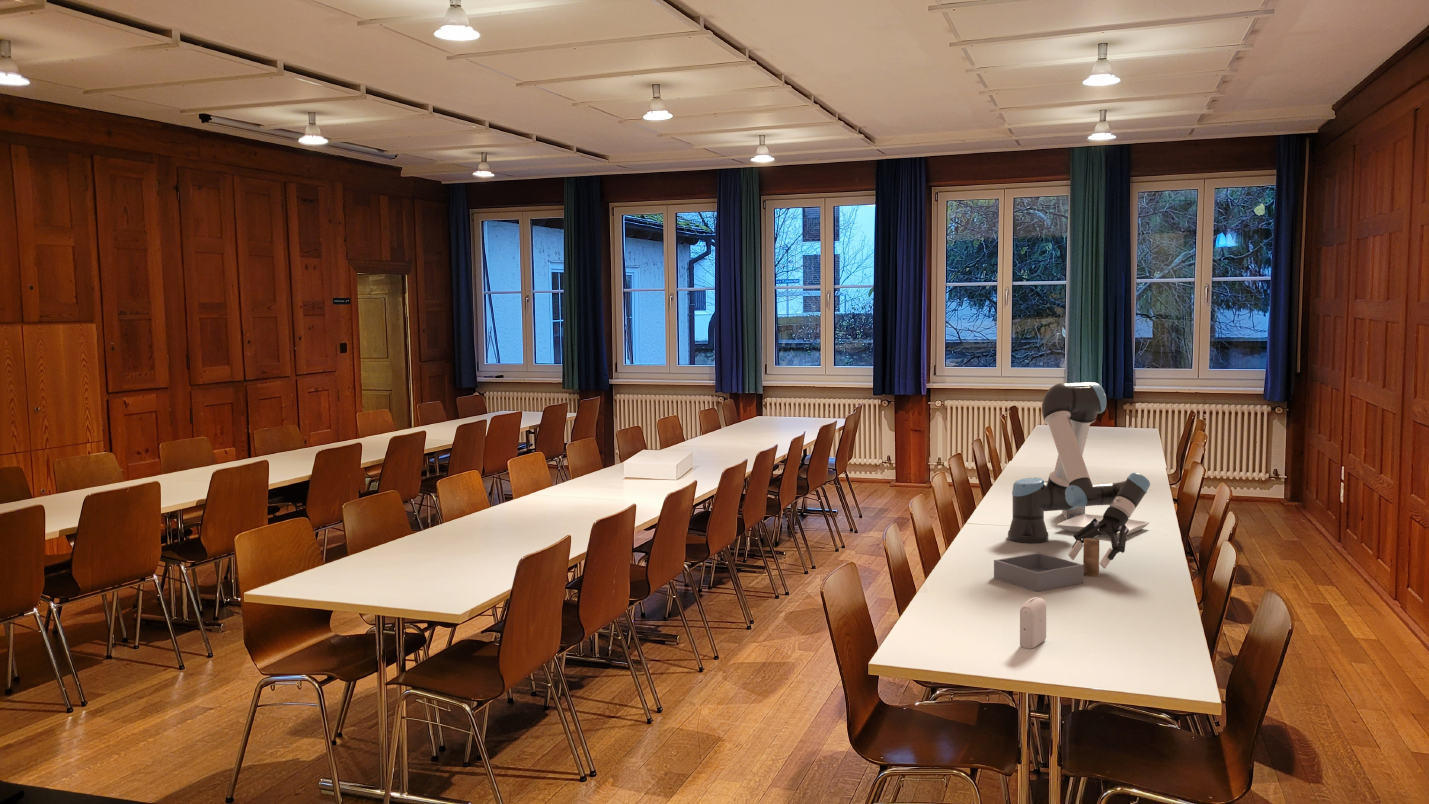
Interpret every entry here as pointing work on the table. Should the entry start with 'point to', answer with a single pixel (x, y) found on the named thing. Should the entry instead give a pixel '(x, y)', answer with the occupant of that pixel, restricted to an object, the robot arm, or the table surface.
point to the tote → (1038, 571)
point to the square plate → (1084, 519)
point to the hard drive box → (1073, 512)
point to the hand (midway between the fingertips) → (1086, 561)
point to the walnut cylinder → (1091, 557)
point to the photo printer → (1032, 623)
